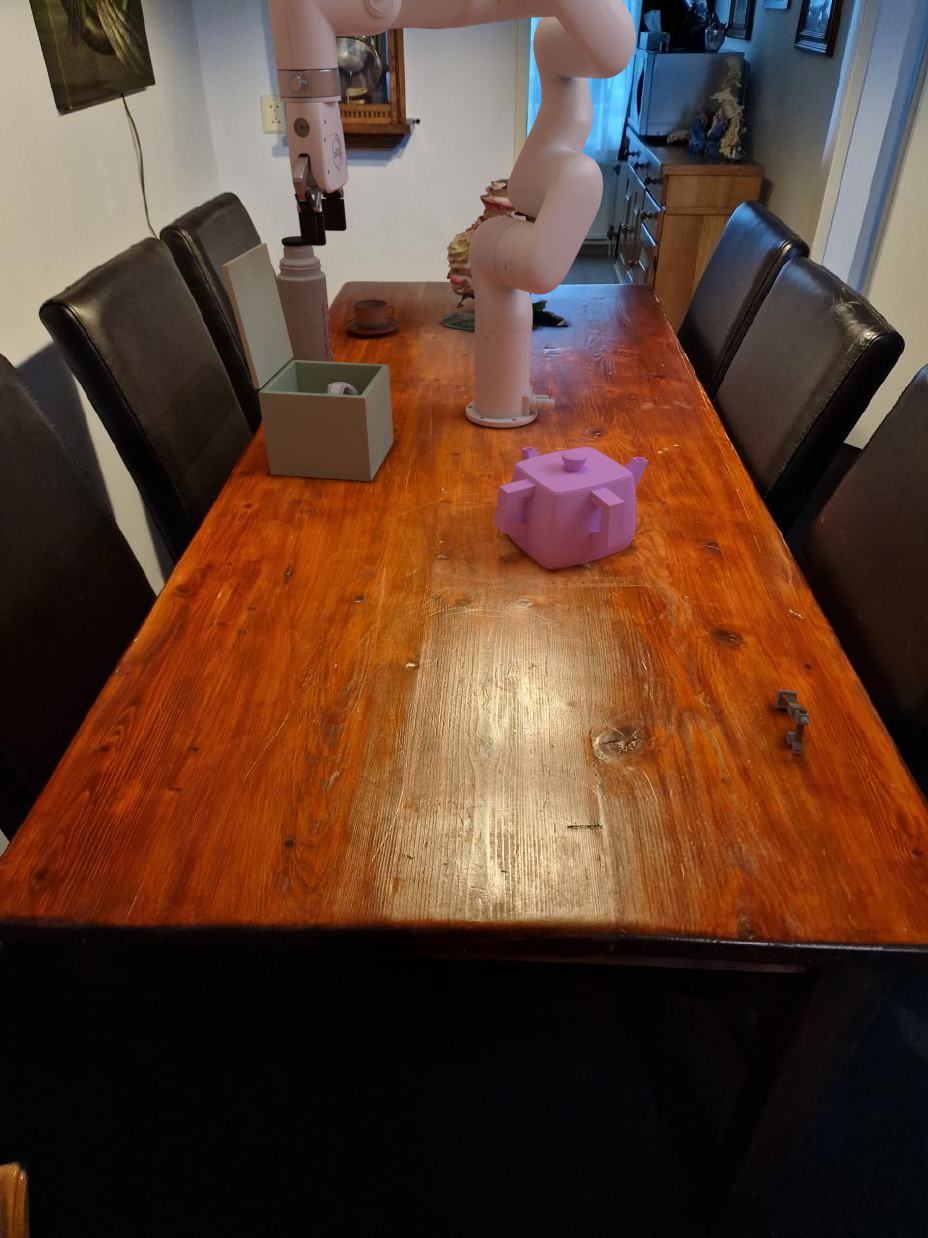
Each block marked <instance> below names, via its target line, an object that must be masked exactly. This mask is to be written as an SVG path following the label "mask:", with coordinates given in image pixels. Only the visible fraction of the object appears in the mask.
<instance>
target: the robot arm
mask: <svg viewBox="0 0 928 1238" xmlns="http://www.w3.org/2000/svg"><path fill="white" fill-rule="evenodd" d="M267 4H268V13H269V21H270V28H271V36H272V44H273V52H274V53H273V54H274V60H275V68H276V77H277V86H278V93H279V102H280V103H285V112H286V113H285V114H286V115H285V116H286V131H287V145H288V156H289V165H290V172H291V180H292V185H293V188H294V192H295V193H294V199H295V201H296V211H297V215H298V216H297V217H298V223H299V224H298V225H299V231H300V236H301V241H302V244H303V245H304V246H312V247H324V246H326V245H327V235H326V234H327V233H326V232H345V231H346V230H347V228H348V226H347V216H346V205H345V198H344V197H345V191H344V188H343V187H344V186H345V185H346V184H347V183H348V182H349V169H348V160H347V152H346V144H345V135H344V129H343V122H342V117H341V111H340V105H339V102H340V101H342V94H341V81H340V70H339V59H338V50H337V49H338V47H337V37H371V36H372V37H373V36H376V35H380V34H382V33H384V32H386V31H388V30H395V29H423V30H424V29H427V30H446V29H459V28H465V27H473V26H478V25H479V26H480V25H486V24H493V23H494V24H495V23H502V22H510V21H516V20H517V21H518V20H524V19H533V18H534V19H536V18H540V19H539V21H538V23H537V24H536V27H535V30H534V33H533V40H532V47H533V48H532V49H533V50H532V51H533V57H534V61H535V66H536V68H537V73H538V77H539V78H538V79H539V83H540V103H539V108H538V111H537V114H536V117H535V119H534V121H533V124H532V126H531V129H530V130H529V133H528V135H527V137H526V139H525V141H524V143H523V146H522V148H521V150H520V152H519V155H518V156H517V159H516V160H515V163H514V164H513V165H514V166H513V168H512V170H511V172H510V175H509V177H508V179H509V180H508V185H507V196H508V200H509V202H510V203H511V205H512V206H513V207H514V208H515V209H516V210H517V211H519V212H521V213H523V214H526V215H529V216H533V217H537V219H536V221H535V223H530V222H528V221H524V220H519V219H515V218H510V217H493V218H490V219H487V220H485V221H484V222H482V223H481V224H480V225H479V226H478V227H477V229H476V230H475V232H474V233H473V236H472V238H471V242H470V247H469V261H470V268H471V274H472V279H473V286H474V297H475V299H474V311H475V331H474V400H471V402H470V403H468V404H467V405H466V406H465V417H466V418H467V419H468V420H469V422H472V423H474V424H477V425H479V426H482V427H489V428H498V429H503V428H504V429H507V428H517V427H521V426H525V425H528V424H529V423H531V422H533V421H534V420H536V418H537V416H538V410H544V411H555V400H556V399H555V398H549V397H550V396H549V394H536V392H533V385H531V384H530V383H531V382H530V381H531V363H532V362H531V361H532V360H531V359H532V338H533V337H532V335H533V330H532V325H533V319H534V318H533V309H532V303H533V301H532V300H533V299H532V295H538V296H539V295H546V294H549V293H551V292H553V291H555V290H556V289H557V288H558V287H559V286H560V285H561V284H562V283H563V281H564V280H565V278H566V276H567V275H568V274H569V272H570V270H571V268H572V266H573V263H574V262H575V259H576V258H577V256H578V253H579V252H580V250H581V247H582V245H583V243H584V242H585V239H586V237H587V235H588V233H589V230H590V229H591V227H592V225H593V223H594V221H595V219H596V217H597V214H598V212H599V209H600V207H601V203H602V200H603V199H602V198H603V193H604V179H603V173H602V170H601V168H600V166H599V165H598V163H597V162H596V161H595V159H594V158H592V157H591V156H590V155H587V154H586V153H583V151H584V149H585V146H586V144H587V142H588V139H589V138H590V134H591V131H592V128H593V121H594V107H593V99H592V94H591V88H590V83H589V79H591V80H605V79H606V80H607V79H611V78H615V77H616V76H618V75H619V74H621V73H622V72H624V70H625V69H626V68H627V67H628V65H629V64H630V62H631V60H632V58H633V56H634V53H635V49H636V41H637V40H636V37H637V34H636V33H637V32H636V27H635V23H634V20H633V17H632V15H631V12H630V10H629V9H628V7H627V6H626V4H625V2H624V1H623V0H267ZM530 293H531V295H530Z"/></svg>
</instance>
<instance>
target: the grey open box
mask: <svg viewBox="0 0 928 1238" xmlns="http://www.w3.org/2000/svg"><path fill="white" fill-rule="evenodd" d="M335 382H342V383H347V384H350V385H351V386H353V387H354V388H355V389H356V390H357V392H358V396H357V395H339V394H324V393H326V389H327V387H328V385H329V384H332V383H335ZM257 394H258V400H259V406H260V414H261V421H262V427H263V433H264V439H265V446H266V453H267V459H268V467H269V472H270V475H272V476H285V477H301V478H316V479H328V480H329V479H330V480H342V481H343V480H345V481H357V482H358V481H360V482H372V481H373V479H374V477H375V476H376V475H377V472H378V471H379V468H380V467H381V465H382V463H383V461H384V460H385V458H386V456H387V454H388V453H389V451H390V450H391V448H392V446H393V444H394V427H393V411H392V410H393V409H392V392H391V375H390V364H383V363H362V362H344V361H334V362H324V361H304V360H291V361H290V362H289V363H288V362H287V363H286V364H285V365H284V366H283V367H282V368H281V369H280V370H279V371H278V372H277V373H276V374H275V375H274V376H273V377H272V378H271V379H270V380H269V381H268V382H266V383H265V384H264V385H263V386H262V387H261V388H260V389H259V390H258V392H257Z"/></svg>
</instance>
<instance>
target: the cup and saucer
mask: <svg viewBox="0 0 928 1238" xmlns="http://www.w3.org/2000/svg"><path fill="white" fill-rule="evenodd" d="M353 308H354V309H353V310H354V318H351V319H349V320H347V321H346V322H345V324H344V326H345V328H346V329H347V330H348V331H349V332H351V333H353V334H356V335H360V336H382V335H385V334H389V333H391V332H394V331H395V330H396V329H397V328H398V326H399V321H398V320H397V319H396V318H393V317H394V316H395V314H396V307H395V306H394V305H393V304H388V303H387V301H384V300H381V299H363V300H358V301H356V302H354V303H353ZM389 308H391V310H392V312H391V314H389V315H388V309H389Z"/></svg>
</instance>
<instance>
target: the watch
mask: <svg viewBox="0 0 928 1238" xmlns="http://www.w3.org/2000/svg"><path fill="white" fill-rule="evenodd" d="M324 394H339V395H357V396H358V392H357V390H356V389H355V388H354V387H353V386H351V385H350V384H347V383H342V382H335V383H332V384H329V385H328V387H327V389H326V393H324Z"/></svg>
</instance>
